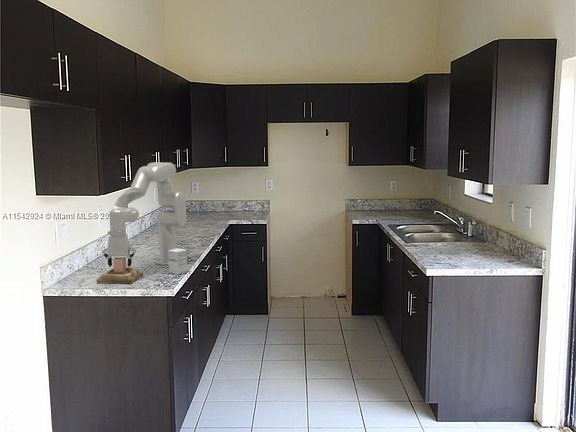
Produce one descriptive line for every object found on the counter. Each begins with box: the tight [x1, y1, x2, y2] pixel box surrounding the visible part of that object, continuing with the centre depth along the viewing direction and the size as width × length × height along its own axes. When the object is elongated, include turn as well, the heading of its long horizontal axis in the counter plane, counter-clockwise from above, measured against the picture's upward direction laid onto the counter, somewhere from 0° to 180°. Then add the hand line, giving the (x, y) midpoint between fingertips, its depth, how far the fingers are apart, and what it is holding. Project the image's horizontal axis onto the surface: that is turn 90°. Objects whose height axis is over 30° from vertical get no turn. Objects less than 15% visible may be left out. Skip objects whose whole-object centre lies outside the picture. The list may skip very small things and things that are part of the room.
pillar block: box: [112, 256, 127, 272], centre depth 273 cm, size 5×5×7 cm
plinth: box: [96, 267, 144, 285], centre depth 274 cm, size 16×18×5 cm
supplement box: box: [168, 247, 188, 275], centre depth 288 cm, size 7×7×13 cm
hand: (120, 266), depth 273 cm, fingers open, 9 cm apart
